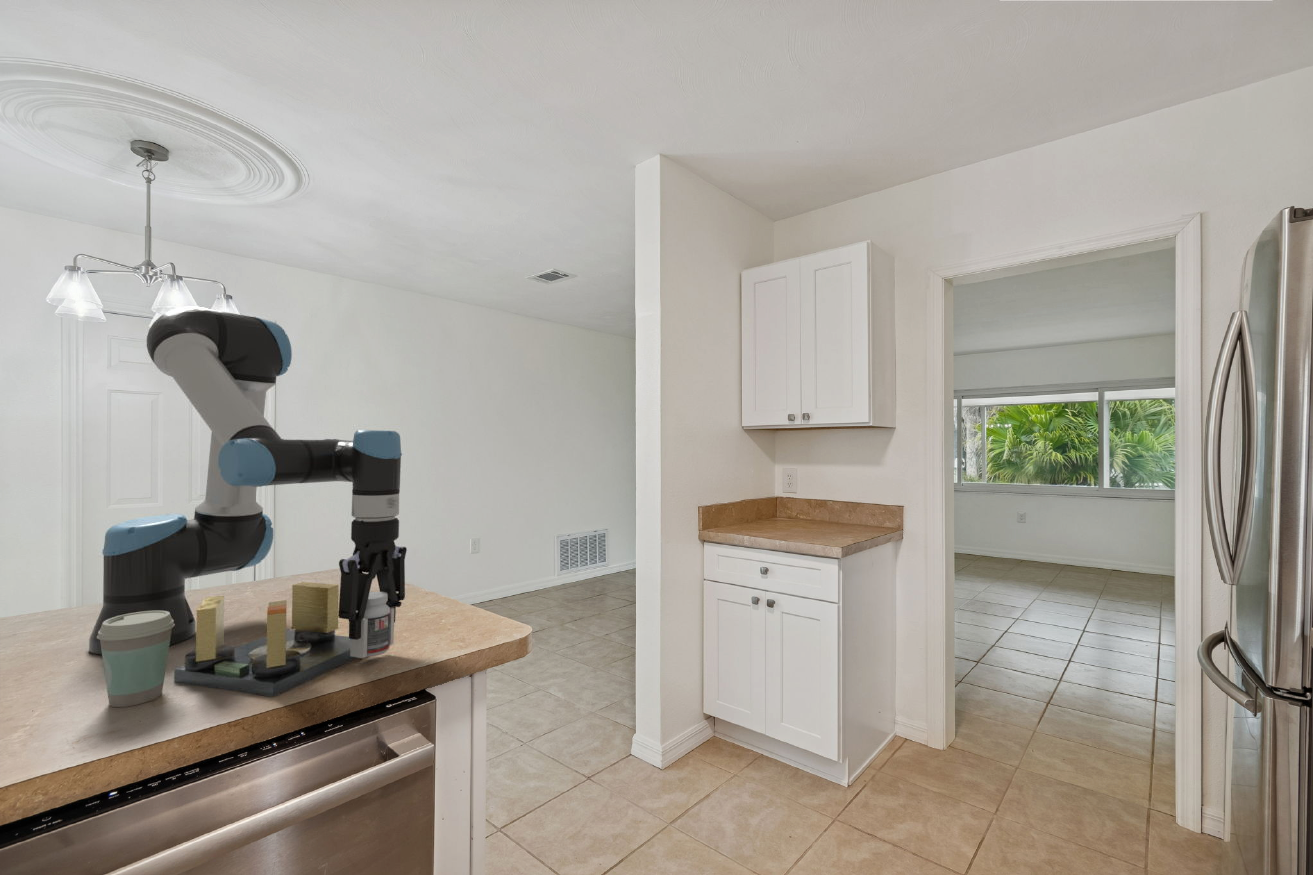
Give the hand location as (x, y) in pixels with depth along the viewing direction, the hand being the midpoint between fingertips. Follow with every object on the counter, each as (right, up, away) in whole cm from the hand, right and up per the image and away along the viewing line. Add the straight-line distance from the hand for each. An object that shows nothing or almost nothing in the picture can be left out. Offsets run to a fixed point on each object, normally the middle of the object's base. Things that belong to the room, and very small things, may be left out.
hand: (372, 649), depth 100 cm
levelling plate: (-15, -2, -2) cm, 15 cm away
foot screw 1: (-23, 0, -7) cm, 24 cm away
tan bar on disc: (-10, 0, -10) cm, 14 cm away
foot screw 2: (-13, 0, +4) cm, 14 cm away
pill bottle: (0, -1, 0) cm, 1 cm away
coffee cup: (-27, -2, -15) cm, 32 cm away
